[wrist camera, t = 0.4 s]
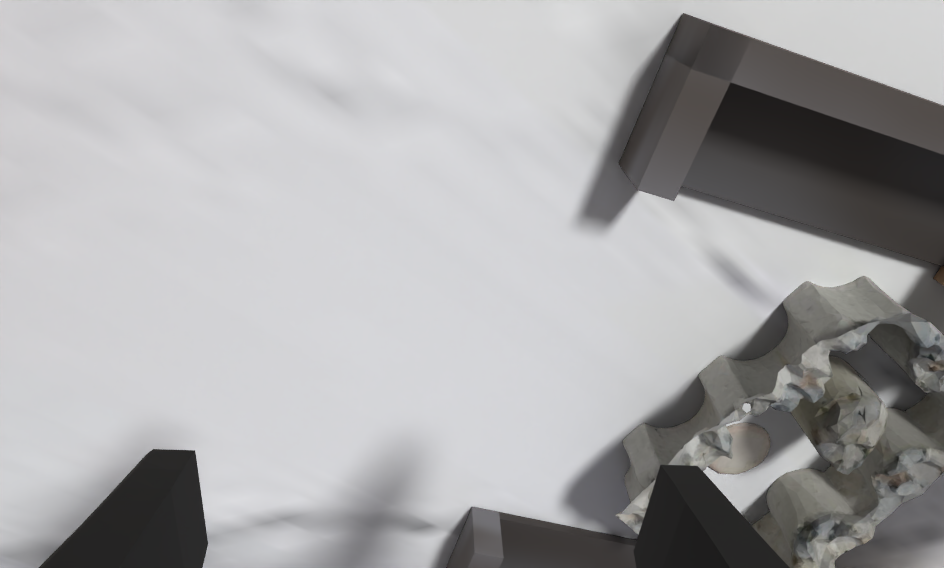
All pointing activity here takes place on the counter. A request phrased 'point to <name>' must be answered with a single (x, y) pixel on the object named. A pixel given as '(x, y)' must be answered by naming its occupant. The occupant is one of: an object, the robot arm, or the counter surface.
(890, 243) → the dark tray
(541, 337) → the counter surface
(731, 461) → the egg carton
